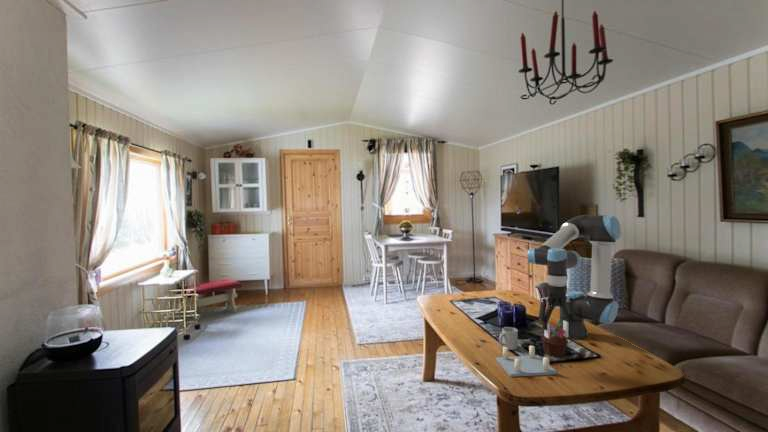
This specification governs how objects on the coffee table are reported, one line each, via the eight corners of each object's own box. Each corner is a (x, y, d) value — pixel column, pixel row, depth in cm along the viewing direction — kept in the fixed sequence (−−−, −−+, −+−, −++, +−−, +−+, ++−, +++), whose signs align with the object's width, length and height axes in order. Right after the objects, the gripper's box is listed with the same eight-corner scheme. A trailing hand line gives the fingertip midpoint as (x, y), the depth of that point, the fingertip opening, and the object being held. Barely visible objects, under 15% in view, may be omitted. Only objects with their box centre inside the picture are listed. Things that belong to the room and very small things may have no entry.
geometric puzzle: (572, 334, 154) (562, 316, 158) (564, 337, 150) (553, 319, 154) (559, 340, 159) (549, 323, 163) (550, 343, 155) (540, 325, 159)
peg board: (538, 357, 167) (538, 344, 167) (557, 374, 151) (557, 359, 151) (495, 359, 166) (495, 346, 166) (510, 376, 150) (510, 362, 150)
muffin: (554, 347, 179) (554, 327, 179) (573, 355, 169) (573, 334, 169) (535, 351, 175) (535, 330, 175) (554, 360, 165) (554, 338, 164)
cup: (520, 348, 178) (520, 330, 178) (504, 352, 174) (504, 333, 174) (510, 343, 185) (510, 326, 184) (494, 346, 181) (494, 328, 181)
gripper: (573, 282, 161) (573, 332, 161) (529, 283, 159) (529, 334, 159) (584, 285, 153) (584, 338, 154) (538, 287, 151) (538, 341, 152)
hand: (556, 336), depth 157 cm, fingers closed on geometric puzzle, 8 cm apart
